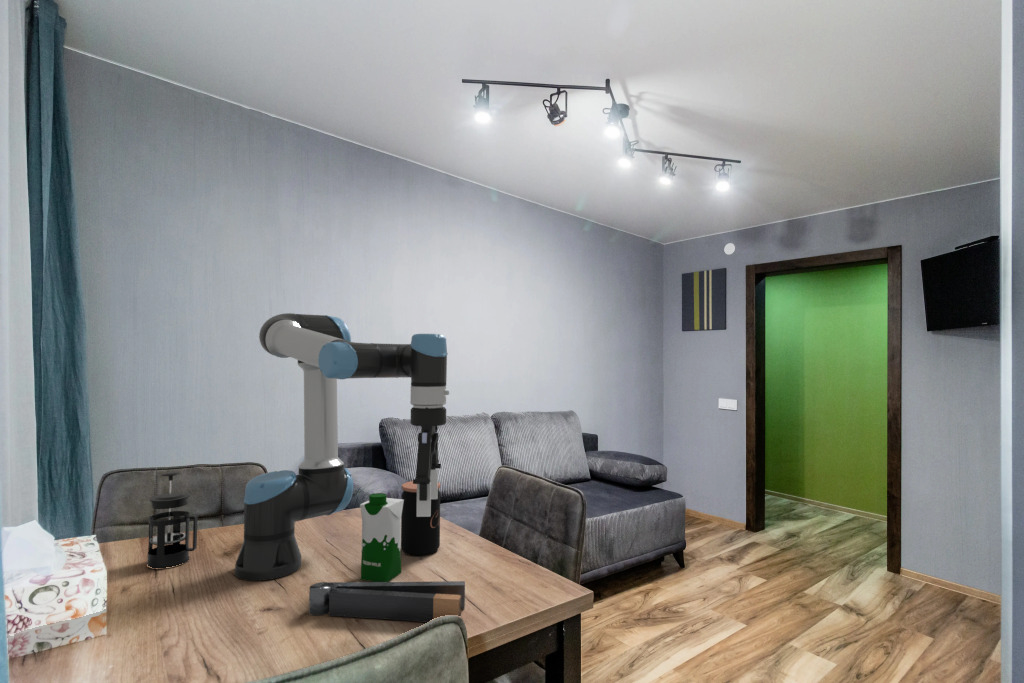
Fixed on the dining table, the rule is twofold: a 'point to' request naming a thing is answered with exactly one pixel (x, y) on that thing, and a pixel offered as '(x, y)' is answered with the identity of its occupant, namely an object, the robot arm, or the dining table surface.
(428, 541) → the coffee jar
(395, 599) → the arm
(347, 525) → the dining table surface
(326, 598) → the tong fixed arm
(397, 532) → the milk carton
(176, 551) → the french press
